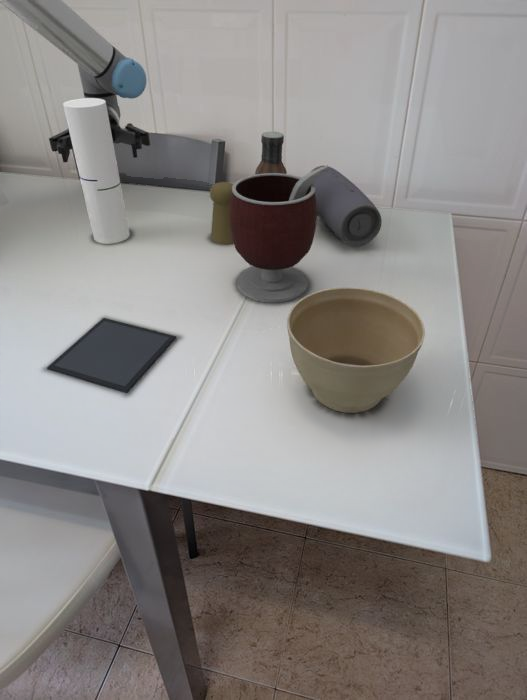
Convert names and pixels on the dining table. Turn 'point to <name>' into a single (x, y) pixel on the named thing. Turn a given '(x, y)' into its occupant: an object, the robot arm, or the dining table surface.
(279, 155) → the sauce bottle
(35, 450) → the dining table surface
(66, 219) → the dining table surface
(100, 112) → the cylindrical container
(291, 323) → the planter bowl
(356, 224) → the bluetooth speaker
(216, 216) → the olive pepper mill
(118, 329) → the charcoal mat
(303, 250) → the mate gourd
